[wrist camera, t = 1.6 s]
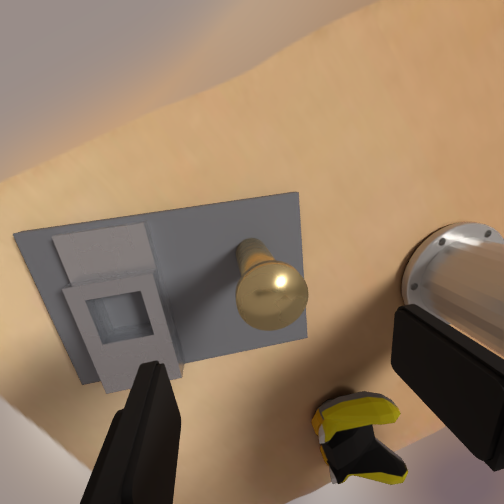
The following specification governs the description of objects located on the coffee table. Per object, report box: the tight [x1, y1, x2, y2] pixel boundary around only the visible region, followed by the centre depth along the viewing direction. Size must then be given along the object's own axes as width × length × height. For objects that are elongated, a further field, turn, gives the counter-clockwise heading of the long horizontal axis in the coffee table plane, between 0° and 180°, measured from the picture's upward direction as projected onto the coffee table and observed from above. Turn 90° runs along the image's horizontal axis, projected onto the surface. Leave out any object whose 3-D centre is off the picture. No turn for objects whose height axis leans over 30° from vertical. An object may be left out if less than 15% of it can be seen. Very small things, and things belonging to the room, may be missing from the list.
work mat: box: [13, 192, 308, 385], centre depth 24 cm, size 24×16×1 cm, turn 97°
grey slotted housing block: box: [52, 220, 185, 394], centre depth 21 cm, size 7×15×2 cm, turn 7°
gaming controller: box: [311, 391, 408, 485], centre depth 31 cm, size 15×6×10 cm
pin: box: [235, 238, 308, 331], centre depth 19 cm, size 4×4×9 cm
